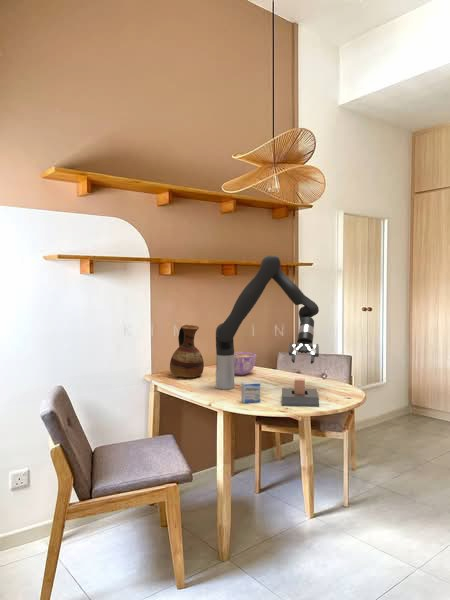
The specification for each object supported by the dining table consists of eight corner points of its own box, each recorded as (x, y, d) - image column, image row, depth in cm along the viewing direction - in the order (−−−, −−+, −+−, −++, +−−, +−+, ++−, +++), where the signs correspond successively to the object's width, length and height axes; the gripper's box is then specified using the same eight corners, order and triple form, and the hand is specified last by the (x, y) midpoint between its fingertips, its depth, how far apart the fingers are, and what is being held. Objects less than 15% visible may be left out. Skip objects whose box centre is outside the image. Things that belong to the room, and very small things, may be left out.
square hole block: (281, 405, 198) (281, 396, 198) (281, 396, 214) (281, 388, 213) (318, 406, 196) (318, 397, 196) (316, 397, 212) (316, 388, 211)
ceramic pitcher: (181, 381, 247) (180, 327, 246) (163, 375, 264) (163, 324, 263) (210, 377, 259) (210, 325, 258) (192, 371, 275) (191, 322, 274)
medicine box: (244, 403, 201) (244, 384, 201) (241, 401, 206) (241, 382, 205) (260, 402, 203) (260, 383, 203) (257, 399, 208) (257, 381, 207)
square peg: (294, 400, 203) (294, 380, 203) (294, 397, 207) (294, 378, 207) (304, 400, 202) (304, 380, 202) (304, 398, 207) (304, 378, 206)
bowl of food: (251, 378, 255) (251, 357, 254) (218, 376, 261) (218, 356, 261) (260, 371, 274) (260, 352, 273) (228, 369, 280) (228, 351, 280)
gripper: (290, 330, 223) (286, 357, 213) (319, 331, 219) (317, 358, 209) (292, 339, 229) (288, 366, 218) (320, 340, 224) (318, 367, 214)
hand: (302, 362), depth 213 cm, fingers open, 8 cm apart
